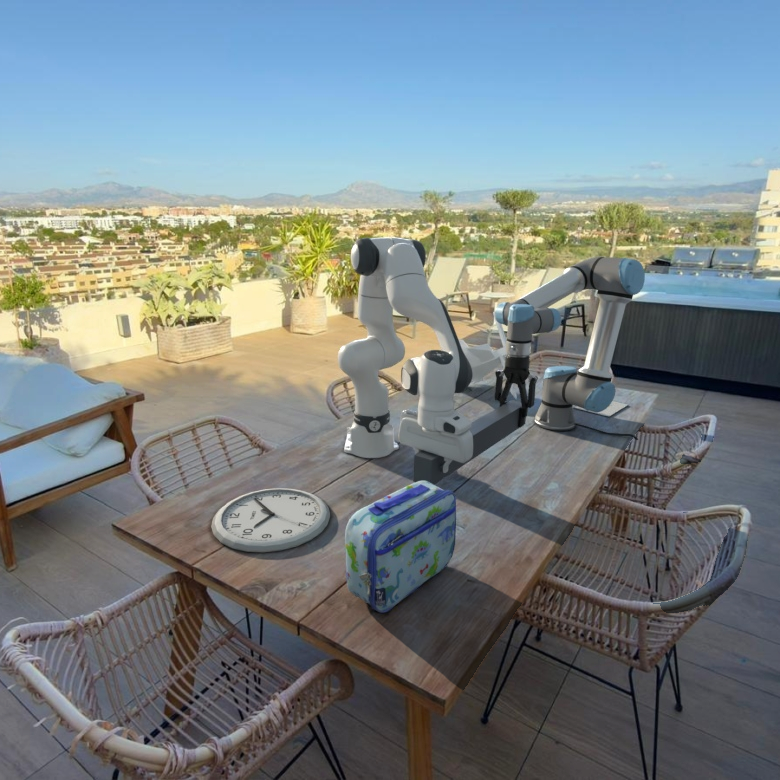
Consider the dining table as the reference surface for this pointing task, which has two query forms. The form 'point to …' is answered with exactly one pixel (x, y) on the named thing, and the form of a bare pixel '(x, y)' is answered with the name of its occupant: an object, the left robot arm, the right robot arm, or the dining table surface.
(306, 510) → the wall clock
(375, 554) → the lunch box
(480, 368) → the white plastic object
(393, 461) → the dining table surface
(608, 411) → the invitation card
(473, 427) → the post
